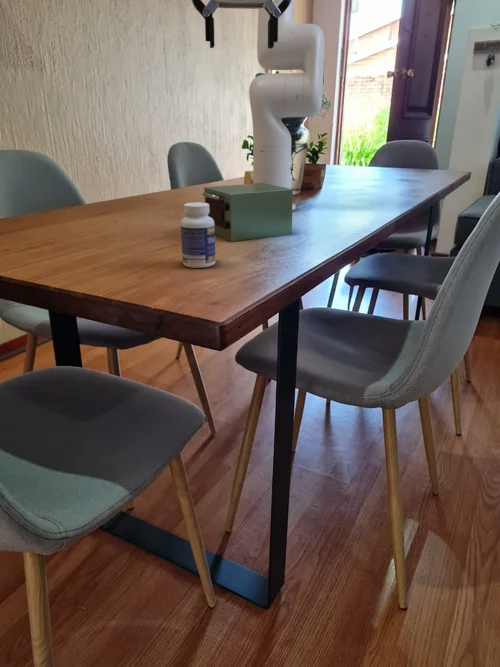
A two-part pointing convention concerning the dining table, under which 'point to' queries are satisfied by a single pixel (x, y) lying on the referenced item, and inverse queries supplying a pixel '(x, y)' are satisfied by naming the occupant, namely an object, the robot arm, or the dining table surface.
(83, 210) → the dining table surface
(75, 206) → the dining table surface
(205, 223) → the pill bottle
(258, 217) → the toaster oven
